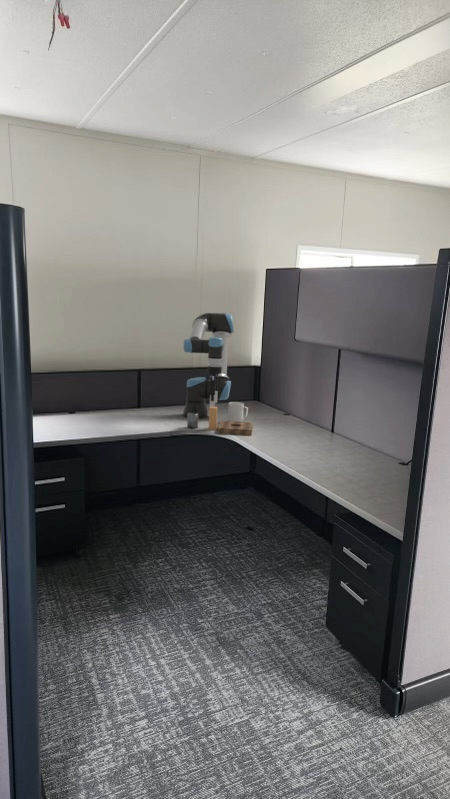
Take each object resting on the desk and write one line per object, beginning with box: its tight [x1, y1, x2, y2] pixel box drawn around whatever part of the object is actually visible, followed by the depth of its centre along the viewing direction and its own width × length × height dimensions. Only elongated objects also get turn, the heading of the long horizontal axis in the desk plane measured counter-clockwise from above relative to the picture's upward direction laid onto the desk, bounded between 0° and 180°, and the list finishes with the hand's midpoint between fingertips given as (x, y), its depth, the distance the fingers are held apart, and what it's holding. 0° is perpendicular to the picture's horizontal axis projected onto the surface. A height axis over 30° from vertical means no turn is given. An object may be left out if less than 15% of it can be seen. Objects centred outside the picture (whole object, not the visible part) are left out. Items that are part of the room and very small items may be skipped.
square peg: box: [208, 406, 218, 431], centre depth 299 cm, size 4×4×12 cm
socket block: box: [217, 420, 254, 436], centre depth 297 cm, size 18×18×3 cm
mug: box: [227, 401, 249, 422], centre depth 317 cm, size 12×9×11 cm
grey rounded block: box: [186, 413, 199, 430], centre depth 300 cm, size 6×6×8 cm
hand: (213, 404), depth 297 cm, fingers open, 13 cm apart
